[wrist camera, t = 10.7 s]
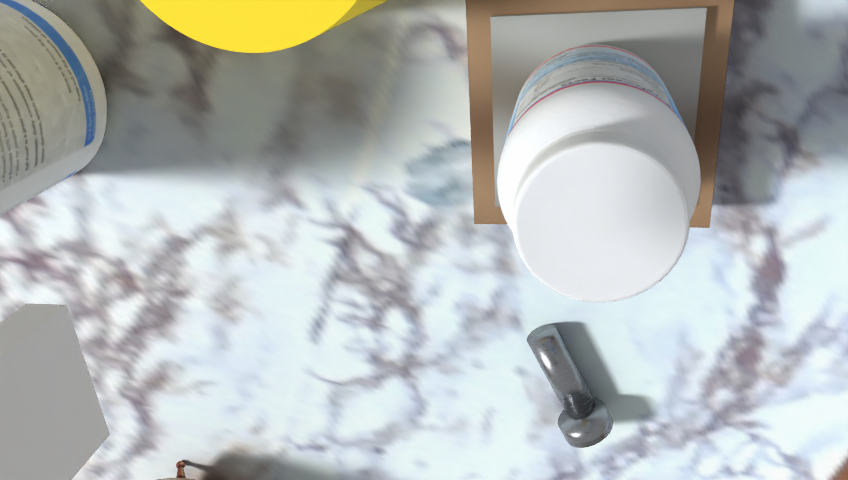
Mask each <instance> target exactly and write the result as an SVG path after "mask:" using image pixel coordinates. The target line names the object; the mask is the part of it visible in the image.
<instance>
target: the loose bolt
mask: <svg viewBox="0 0 848 480" xmlns="http://www.w3.org/2000/svg"><path fill="white" fill-rule="evenodd" d="M527 342H528V344H529V346H530V347H531V349H532V351H533V353H534V355H535V357H536V358H537V360H538V362H539V364H540V366H541V368H542V370H543V371H544V373H545V375H546V377H547V379H548V381H549V382H550V384H551V386H552V388H553V390H554V392H555V393H556V395H557V397H558V399H559V401H560V403H561V404H562V406H563V408H564V410H563V411H562V413H561V414H560V416H559V419H558V426H559V428H560V430H561V431H562V433H563V435H564V437H565V439H566V440H567V442H568V443H569V444H570V445H571V446H574V447H578V448H583V447H589V446H592V445H595V444H597V443H599V442H600V441H602V440H603V439H604V438H605V437H607V435H608V434H609V433H610V431H611V429H612V427H613V421H612V418H611V416H610V414H609V412H608V411H607V409H606V407H605V405H604V403H603V402H602V401H601V400H599V399H596V398H593V397H592V395H591V393H590V391H589V389H588V387H587V386H586V384H585V382H584V380H583V378H582V376H581V374H580V372H579V370H578V368H577V367H576V365H575V363H574V361H573V359H572V357H571V355H570V353H569V351H568V349H567V348H566V346H565V344H564V342H563V340H562V338H561V336H560V334H559V332H558V330H557V329H556V327H555V326H554V325H544V326H541V327H539V328H537V329H535V330H534V331H532V332H531V333H530V334H529V336H528V337H527Z"/></svg>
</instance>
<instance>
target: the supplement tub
mask: <svg viewBox="0 0 848 480" xmlns="http://www.w3.org/2000/svg"><path fill="white" fill-rule="evenodd" d="M106 121H107V100H106V94H105V88H104V84H103V81H102V78H101V75H100V72H99V70H98V68H97V66H96V64H95V61H94V59H93V58H92V56H91V54H90V53H89V51H88V49H87V48H86V46H85V45H84V44H83V42H82V41H81V40H80V38H79V37H78V36H77V35H76V34H75V33H74V31H73V30H72V29H71V28H70V27H69V26H68V25H67V24H66V23H64V22H63V21H62V20H61V19H60V18H59V17H57V16H56V15H55V14H53V13H52V12H51V11H49V10H48V9H46V8H44V7H43V6H41V5H39V4H37V3H35V2H33V1H31V0H0V215H2V214H4V213H6V212H8V211H9V210H11V209H13V208H15V207H17V206H18V205H20V204H22V203H24V202H25V201H27V200H29V199H31V198H33V197H34V196H36V195H38V194H40V193H42V192H43V191H45V190H47V189H49V188H50V187H52V186H54V185H56V184H58V183H59V182H61V181H63V180H65V179H66V178H68V177H70V176H71V175H73V174H75V173H76V172H78V171H79V170H81V169H82V168H83V167H85V166H86V165H87V164H88V163H89V162H90V161H91V160H92V159H93V157H94V156H95V154H96V153H97V151H98V150H99V148H100V146H101V143H102V141H103V138H104V134H105V129H106Z"/></svg>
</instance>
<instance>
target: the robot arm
mask: <svg viewBox="0 0 848 480" xmlns="http://www.w3.org/2000/svg"><path fill="white" fill-rule="evenodd" d="M109 435H110V434H109V431H108V428H107V425H106V422H105V419H104V416H103V413H102V410H101V407H100V404H99V401H98V398H97V395H96V392H95V389H94V386H93V383H92V380H91V377H90V374H89V371H88V368H87V365H86V362H85V359H84V356H83V354H82V351H81V348H80V345H79V342H78V339H77V336H76V333H75V330H74V327H73V324H72V321H71V318H70V315H69V312H68V309H67V306H66V305H52V304H26V305H24V306H23V307H22V308H20V309H19V310H18V311H16V312H15V313H14V314H12V315H11V316H10V317H8V318H7V319H6V320H4V321H3V322H2V323H0V480H71V479H72V478H73V477H74V476H75V475H76V474H77V472H78V471H79V470H80V469H81V468H82V467H83V465H84V464H85V463H86V462H87V461H88V460H89V458H90V457H91V456H92V455H93V454H94V452H95V451H96V450H97V449H98V448H99V447H100V445H101V444H102V443H103V442H104V441H105V440H106V438H107V437H108V436H109Z"/></svg>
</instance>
